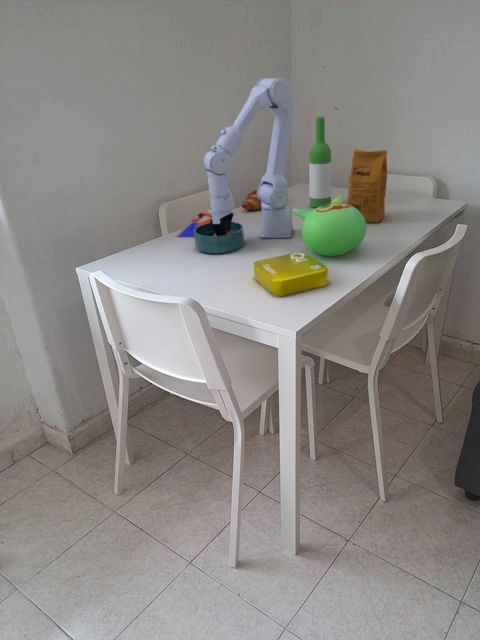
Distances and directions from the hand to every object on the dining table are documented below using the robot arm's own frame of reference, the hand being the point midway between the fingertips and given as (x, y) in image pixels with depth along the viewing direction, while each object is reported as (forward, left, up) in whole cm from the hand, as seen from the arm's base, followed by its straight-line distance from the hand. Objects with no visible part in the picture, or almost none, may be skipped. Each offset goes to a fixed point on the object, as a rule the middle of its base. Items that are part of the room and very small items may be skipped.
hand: (224, 240), depth 151 cm
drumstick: (+2, 0, -1) cm, 2 cm away
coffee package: (-43, -26, -2) cm, 50 cm away
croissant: (-5, -44, -2) cm, 44 cm away
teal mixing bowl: (+1, 0, -2) cm, 2 cm away
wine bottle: (-27, -43, -2) cm, 50 cm away
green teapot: (-33, +6, -2) cm, 34 cm away
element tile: (-23, +26, -2) cm, 35 cm away
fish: (+11, -17, -2) cm, 20 cm away
